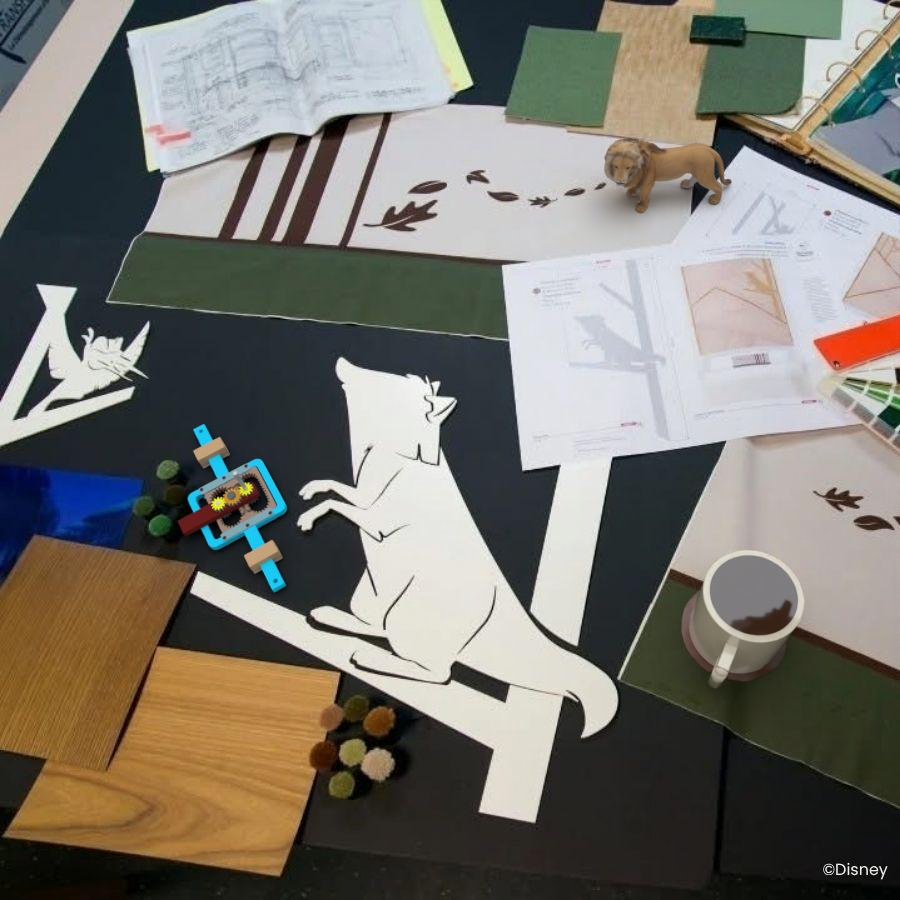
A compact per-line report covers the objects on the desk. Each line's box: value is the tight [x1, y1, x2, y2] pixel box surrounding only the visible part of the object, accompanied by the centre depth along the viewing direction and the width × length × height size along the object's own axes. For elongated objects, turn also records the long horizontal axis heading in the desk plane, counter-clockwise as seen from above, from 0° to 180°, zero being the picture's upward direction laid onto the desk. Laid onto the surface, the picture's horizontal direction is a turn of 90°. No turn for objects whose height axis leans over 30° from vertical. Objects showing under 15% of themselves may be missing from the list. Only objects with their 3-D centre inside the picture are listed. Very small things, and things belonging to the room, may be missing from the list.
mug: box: [688, 549, 806, 689], centre depth 66 cm, size 10×7×8 cm
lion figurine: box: [603, 137, 733, 213], centre depth 92 cm, size 15×5×9 cm, turn 100°
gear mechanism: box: [177, 423, 288, 593], centre depth 80 cm, size 20×5×9 cm
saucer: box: [680, 591, 789, 682], centre depth 71 cm, size 13×13×1 cm
